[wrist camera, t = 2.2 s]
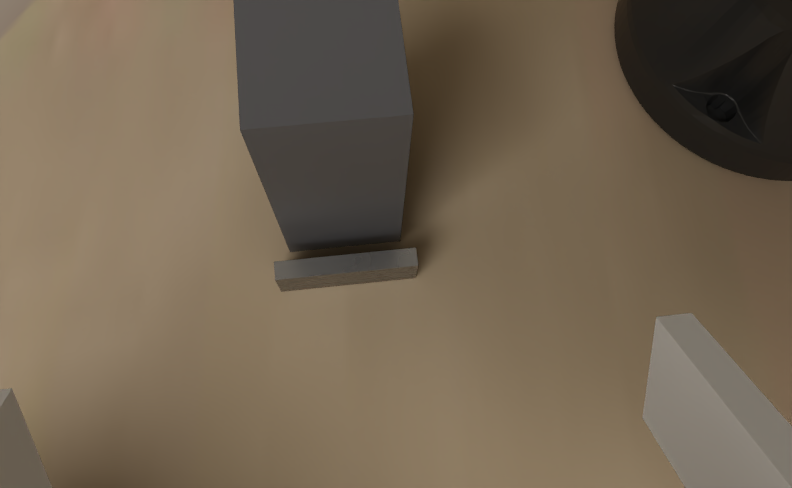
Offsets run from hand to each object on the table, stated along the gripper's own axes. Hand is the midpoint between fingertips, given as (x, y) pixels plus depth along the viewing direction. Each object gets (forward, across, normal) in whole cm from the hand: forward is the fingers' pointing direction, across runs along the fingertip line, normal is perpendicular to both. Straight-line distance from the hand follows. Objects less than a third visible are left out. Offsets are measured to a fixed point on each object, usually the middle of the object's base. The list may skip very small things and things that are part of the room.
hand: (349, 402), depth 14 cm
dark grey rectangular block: (+18, 0, -3) cm, 19 cm away
